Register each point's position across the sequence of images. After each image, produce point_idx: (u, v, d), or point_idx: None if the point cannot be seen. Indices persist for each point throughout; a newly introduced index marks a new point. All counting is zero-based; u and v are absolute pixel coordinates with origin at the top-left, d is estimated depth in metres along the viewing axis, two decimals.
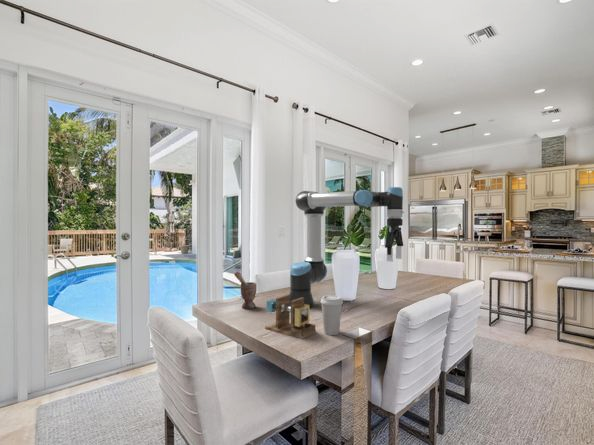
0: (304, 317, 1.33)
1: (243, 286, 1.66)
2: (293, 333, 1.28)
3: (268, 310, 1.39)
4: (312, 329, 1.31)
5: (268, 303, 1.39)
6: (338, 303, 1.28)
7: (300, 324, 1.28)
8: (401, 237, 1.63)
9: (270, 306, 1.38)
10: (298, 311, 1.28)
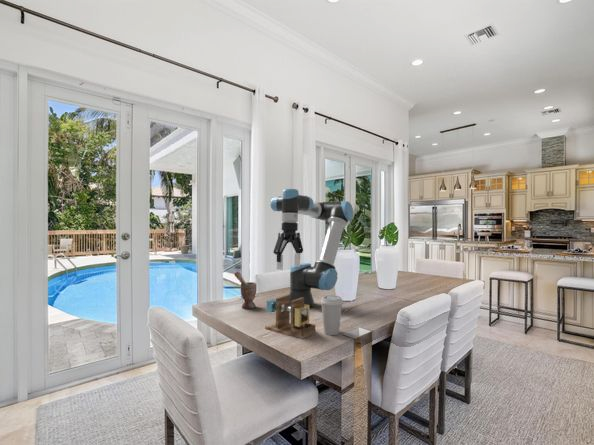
0: (304, 317, 1.33)
1: (243, 286, 1.66)
2: (293, 333, 1.28)
3: (268, 310, 1.39)
4: (312, 329, 1.31)
5: (268, 303, 1.39)
6: (338, 303, 1.28)
7: (300, 324, 1.28)
8: (300, 243, 1.50)
9: (270, 306, 1.38)
10: (298, 311, 1.28)
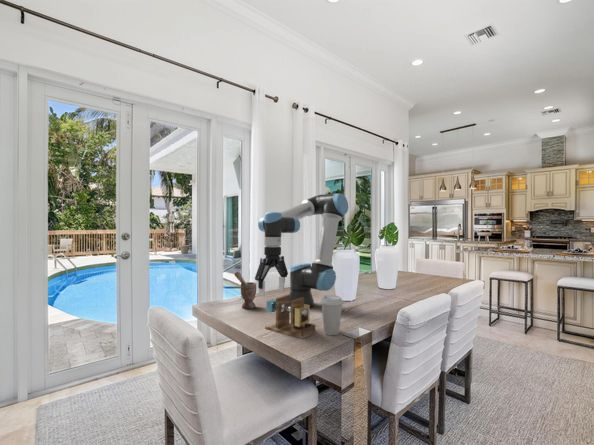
0: (304, 317, 1.33)
1: (243, 286, 1.66)
2: (293, 333, 1.28)
3: (268, 310, 1.39)
4: (312, 329, 1.31)
5: (268, 303, 1.39)
6: (338, 303, 1.28)
7: (300, 324, 1.28)
8: (284, 267, 1.46)
9: (270, 306, 1.38)
10: (298, 311, 1.28)
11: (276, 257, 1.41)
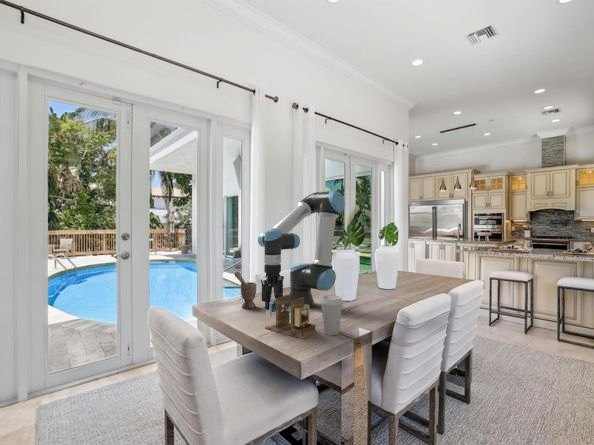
0: (304, 317, 1.33)
1: (243, 286, 1.66)
2: (293, 333, 1.28)
3: None
4: (312, 329, 1.31)
5: None
6: (338, 303, 1.28)
7: (300, 324, 1.28)
8: (281, 287, 1.44)
9: None
10: (298, 311, 1.28)
11: (277, 273, 1.42)
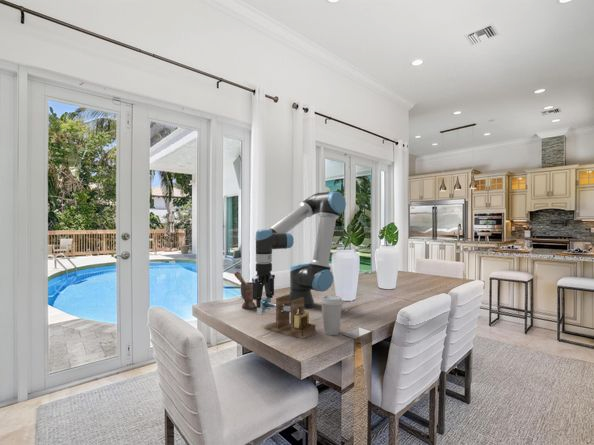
0: (303, 324, 1.34)
1: (243, 286, 1.66)
2: (293, 333, 1.28)
3: None
4: (312, 329, 1.31)
5: None
6: (338, 303, 1.28)
7: None
8: (272, 286, 1.47)
9: None
10: (297, 318, 1.28)
11: (268, 272, 1.45)
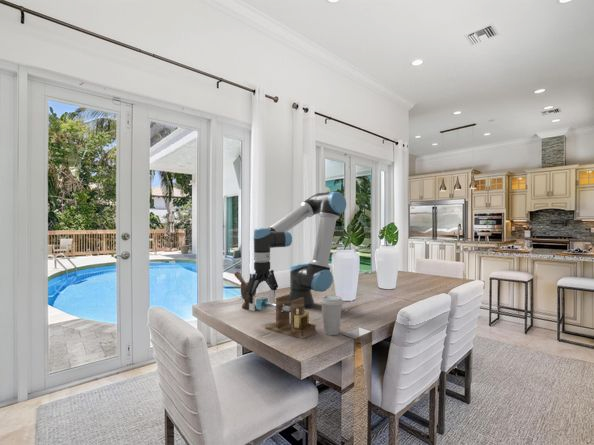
0: (303, 324, 1.34)
1: (243, 286, 1.66)
2: (293, 333, 1.28)
3: (257, 308, 1.43)
4: (312, 329, 1.31)
5: (257, 301, 1.43)
6: (338, 303, 1.28)
7: None
8: (274, 280, 1.50)
9: (259, 304, 1.42)
10: (297, 318, 1.28)
11: (266, 271, 1.45)
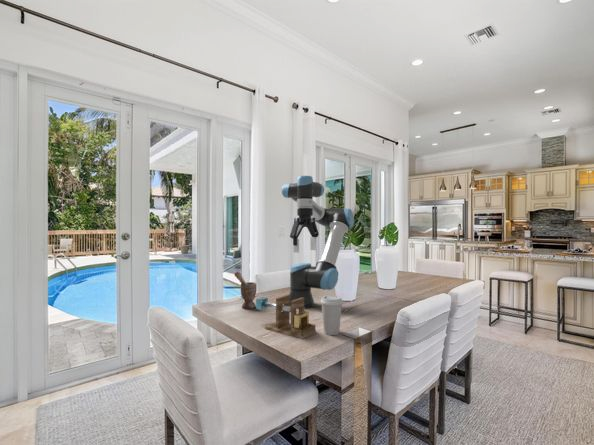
0: (303, 324, 1.34)
1: (243, 286, 1.66)
2: (293, 333, 1.28)
3: (257, 308, 1.43)
4: (312, 329, 1.31)
5: (257, 301, 1.43)
6: (338, 303, 1.28)
7: None
8: (315, 228, 1.57)
9: (259, 304, 1.42)
10: (297, 318, 1.28)
11: (308, 218, 1.52)
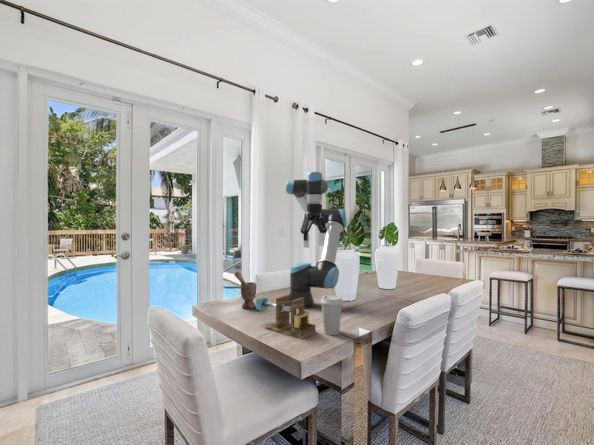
0: (303, 324, 1.34)
1: (243, 286, 1.66)
2: (293, 333, 1.28)
3: (257, 308, 1.43)
4: (312, 329, 1.31)
5: (257, 301, 1.43)
6: (338, 303, 1.28)
7: None
8: (324, 224, 1.59)
9: (259, 304, 1.42)
10: (297, 318, 1.28)
11: (317, 213, 1.54)
